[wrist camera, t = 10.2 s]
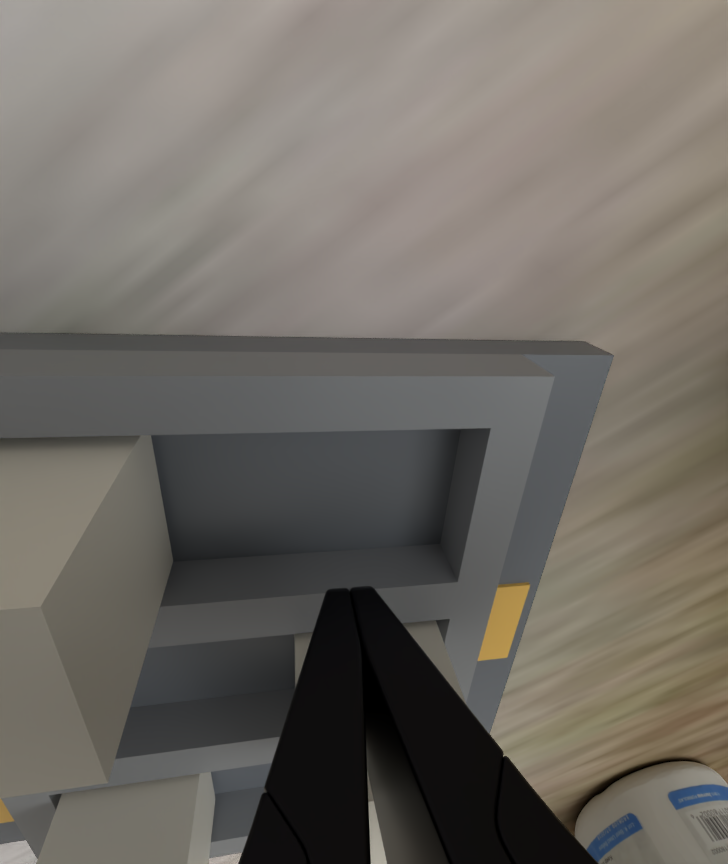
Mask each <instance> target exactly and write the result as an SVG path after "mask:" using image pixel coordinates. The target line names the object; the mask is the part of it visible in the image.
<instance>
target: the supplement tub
mask: <svg viewBox="0 0 728 864" xmlns="http://www.w3.org/2000/svg"><path fill="white" fill-rule="evenodd" d="M575 838H576V839H577V840H578V841H579V842H580V844H581V845H582V846H583V847H584V848H585V849H586V850H587V851H588V852H589V853H590V855H591V856H592V857H593V858H594V859H595V860H596V861H597V862H598V863H599V864H728V785H727V783H726V782H725V781H724V779H723V778H722V777H721V776H720V775H719V774H718V773H717V772H716V771H714V770H713V769H711V768H710V767H708V766H706V765H703V764H700V763H696V762H689V761H678V762H667V763H662V764H658V765H654V766H651V767H647V768H644V769H642V770H639V771H636V772H634V773H632V774H629V775H627V776H625V777H623V778H621V779H620V780H618V781H616V782H614V783H613V784H611V785H610V786H609V787H608V788H607V789H606V790H605V791H603V792H602V793H601V794H599V795H596V796H594V797H593V798H592V799H591V800H590V801H589V802H588V803H587V804H586V806H585V807H584V808H583V809H582V811H581V813H580V814H579V816H578V819H577V822H576V826H575Z"/></svg>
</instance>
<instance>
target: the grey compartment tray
mask: <svg viewBox="0 0 728 864" xmlns="http://www.w3.org/2000/svg"><path fill="white" fill-rule="evenodd" d="M613 357H614V355H612V354H610V353H608V352H606V351H604V350H602V349H599V348H597V347H595V346H593V345H591V344H589V343H587V342H569V341H505V340H441V339H377V338H313V337H249V336H185V335H121V334H57V333H0V438H39V437H87V436H136V435H151V438H152V444H153V450H154V455H155V461H156V466H157V472H158V478H159V483H160V489H161V495H162V500H163V506H164V512H165V517H166V523H167V528H168V534H169V540H170V545H171V551H172V557H173V564H172V567H171V570H170V574H169V577H168V581H167V584H166V587H165V591H164V594H163V598H162V601H161V604H160V608H159V611H158V615H157V618H156V621H155V625H154V628H153V632H152V635H151V638H150V642H149V645H148V648H147V652H146V655H145V659H144V662H143V665H142V669H141V672H140V676H139V679H138V682H137V686H136V689H135V693H134V696H133V699H132V703H131V706H130V710H129V713H128V716H127V720H126V723H125V727H124V730H123V733H122V737H121V740H120V743H119V747H118V750H117V754H116V757H115V760H114V764H113V767H112V771H111V774H110V777H109V781H108V783H105V784H98V785H91V786H84V787H78V788H71V789H64V790H57V791H50V792H43V793H36V794H29V795H22V796H15V797H8V798H1V799H0V844H4V843H10V842H16V841H23V840H26V841H27V842H28V844H29V846H30V847H31V849H32V851H33V852H34V854H35V856H36V857H37V859H38V858H39V855H40V852H41V850H42V847H43V844H44V841H45V839H46V836H47V833H48V831H49V828H50V825H51V822H52V820H53V817H54V814H55V811H56V809H57V806H58V803H59V800H60V798H61V795H62V793H68V792H75V791H82V790H89V789H96V788H103V787H110V786H117V785H124V784H130V783H137V782H144V781H151V780H158V779H165V778H172V777H179V776H185V775H192V774H199V773H206V772H211V776H212V782H213V788H214V793H215V808H214V817H213V826H212V835H211V845H210V854H209V858H213V857H219V856H224V855H230V854H236V853H241V852H243V849H244V846H245V843H246V840H247V837H248V835H249V832H250V829H251V826H252V823H253V820H254V816H255V813H256V810H257V807H258V804H259V801H260V797H261V795H262V793H264V786H265V783H266V780H267V776H268V773H269V770H270V767H271V764H272V761H273V757H274V754H275V751H276V748H277V745H278V742H279V738H280V735H281V732H282V729H283V726H284V723H285V719H286V716H287V713H288V710H289V707H290V704H291V700H292V697H293V694H294V691H295V649H294V634H299V633H309V632H313V631H314V627H315V624H316V621H317V618H318V615H319V612H320V608H321V605H322V602H323V599H324V596H325V593H326V591H327V590H328V589H332V588H348V589H349V591H350V589H351V588H352V587H358V586H372V587H373V588H374V589H375V590H376V591H377V593H378V594H379V595H380V596H381V598H382V599H383V600H384V601H385V603H386V604H387V605H388V606H389V608H390V609H391V610H392V612H393V613H394V614H395V615H396V617H397V618H398V619H399V620H400V622H401V623H412V622H422V621H432V620H436V622H437V625H438V628H439V631H440V633H441V636H442V639H443V642H444V644H445V647H446V650H447V652H448V655H449V658H450V661H451V663H452V666H453V669H454V672H455V674H456V677H457V680H458V683H459V685H460V688H461V691H462V694H463V696H464V699H465V702H466V705H467V706H468V708H469V709H470V710H471V711H472V713H473V714H474V715H475V716H476V718H477V719H478V720H479V722H480V723H481V724H482V725H483V727H484V728H485V729H486V730H487V732H488V733H489V734H490V731H491V728H492V725H493V722H494V719H495V716H496V713H497V710H498V706H499V703H500V700H501V697H502V694H503V691H504V688H505V685H506V682H507V679H508V676H509V673H510V670H511V667H512V664H513V661H514V658H515V655H516V652H517V649H518V646H519V643H520V640H521V637H522V633H523V630H524V627H525V624H526V621H527V618H528V615H529V612H530V609H531V606H532V603H533V600H534V597H535V594H536V591H537V588H538V585H539V582H540V579H541V576H542V573H543V570H544V567H545V563H546V560H547V557H548V554H549V551H550V548H551V545H552V542H553V539H554V536H555V533H556V530H557V527H558V524H559V521H560V518H561V515H562V512H563V509H564V506H565V503H566V500H567V497H568V493H569V490H570V487H571V484H572V481H573V478H574V475H575V472H576V469H577V466H578V463H579V460H580V457H581V454H582V451H583V448H584V445H585V442H586V439H587V436H588V433H589V430H590V427H591V424H592V420H593V417H594V414H595V411H596V408H597V405H598V402H599V399H600V396H601V393H602V390H603V387H604V384H605V381H606V378H607V375H608V372H609V369H610V366H611V363H612V360H613Z"/></svg>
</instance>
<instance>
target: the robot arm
mask: <svg viewBox="0 0 728 864" xmlns="http://www.w3.org/2000/svg"><path fill="white" fill-rule="evenodd" d="M367 771H368V776H369V781H370V785H371V790H372V795H373V799H374V804H375V809H376V814H377V818H378V823H379V828H380V833H381V837H382V842H383V847H384V851H385V856H386V861H387V864H599V863H598V862H597V861H596V860H595V859H594V858H593V857H592V856H591V855H590V853H589V852H588V851H587V850H586V849H585V848H584V847H583V846H582V845H581V844H580V842H579V841H578V840H577V839H576V838H575V837H574V836H573V835H572V834H571V833H570V831H569V830H568V829H567V828H566V827H565V826H564V825H563V824H562V823H561V821H560V820H559V819H558V818H557V817H556V816H555V815H554V813H553V812H552V811H551V810H550V809H549V807H548V806H547V805H546V804H545V802H544V801H543V800H542V799H541V798H540V796H539V795H538V794H537V793H536V792H535V790H534V789H533V788H532V787H531V786H530V784H529V783H528V782H527V781H526V779H525V778H524V777H523V776H522V774H521V773H520V772H519V771H518V769H517V768H516V767H515V765H514V764H513V763H512V762H511V760H510V759H509V758H508V757H507V756H504V757H503V751H502V749H501V748H500V747H499V746H498V744H497V743H496V742H495V740H494V739H493V738H492V737H491V735H490V734H489V733H488V732H487V730H486V729H485V728H484V727H483V725H482V724H481V723H480V722H479V720H478V719H477V718H476V716H475V715H474V714H473V713H472V711H471V710H470V709H469V708H468V706H467V705H466V704H465V703H464V701H463V700H462V699H461V697H460V696H459V695H458V694H457V692H456V691H455V690H454V689H453V687H452V686H451V685H450V684H449V682H448V681H447V680H446V679H445V677H444V676H443V675H442V673H441V672H440V671H439V670H438V668H437V667H436V666H435V665H434V663H433V662H432V661H431V660H430V658H429V657H428V656H427V655H426V653H425V652H424V651H423V649H422V648H421V647H420V646H419V644H418V643H417V642H416V641H415V639H414V638H413V637H412V636H411V634H410V633H409V632H408V630H407V629H406V628H405V627H404V625H403V624H402V623H401V622H400V620H399V619H398V618H397V617H396V615H395V614H394V613H393V612H392V610H391V609H390V608H389V606H388V605H387V604H386V603H385V601H384V600H383V599H382V598H381V596H380V595H379V594H378V593H377V591H376V590H375V589H374V588H373V587H372V586H358V587H352V588H351V589H350V591H349V589H348V588H332V589H328V590H327V591H326V593H325V596H324V599H323V602H322V605H321V608H320V612H319V615H318V618H317V621H316V624H315V627H314V631H313V634H312V637H311V640H310V643H309V646H308V650H307V653H306V656H305V659H304V662H303V665H302V669H301V672H300V675H299V678H298V681H297V684H296V688H295V691H294V694H293V697H292V700H291V704H290V707H289V710H288V713H287V716H286V719H285V723H284V726H283V729H282V732H281V735H280V738H279V742H278V745H277V748H276V751H275V754H274V757H273V761H272V764H271V767H270V770H269V773H268V776H267V780H266V783H265V786H264V793H262V795H261V797H260V801H259V804H258V807H257V810H256V813H255V816H254V820H253V823H252V826H251V829H250V832H249V835H248V837H247V840H246V843H245V846H244V849H243V852H242V855H241V858H240V861H239V864H371V855H370V830H369V804H368V779H367Z"/></svg>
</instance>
